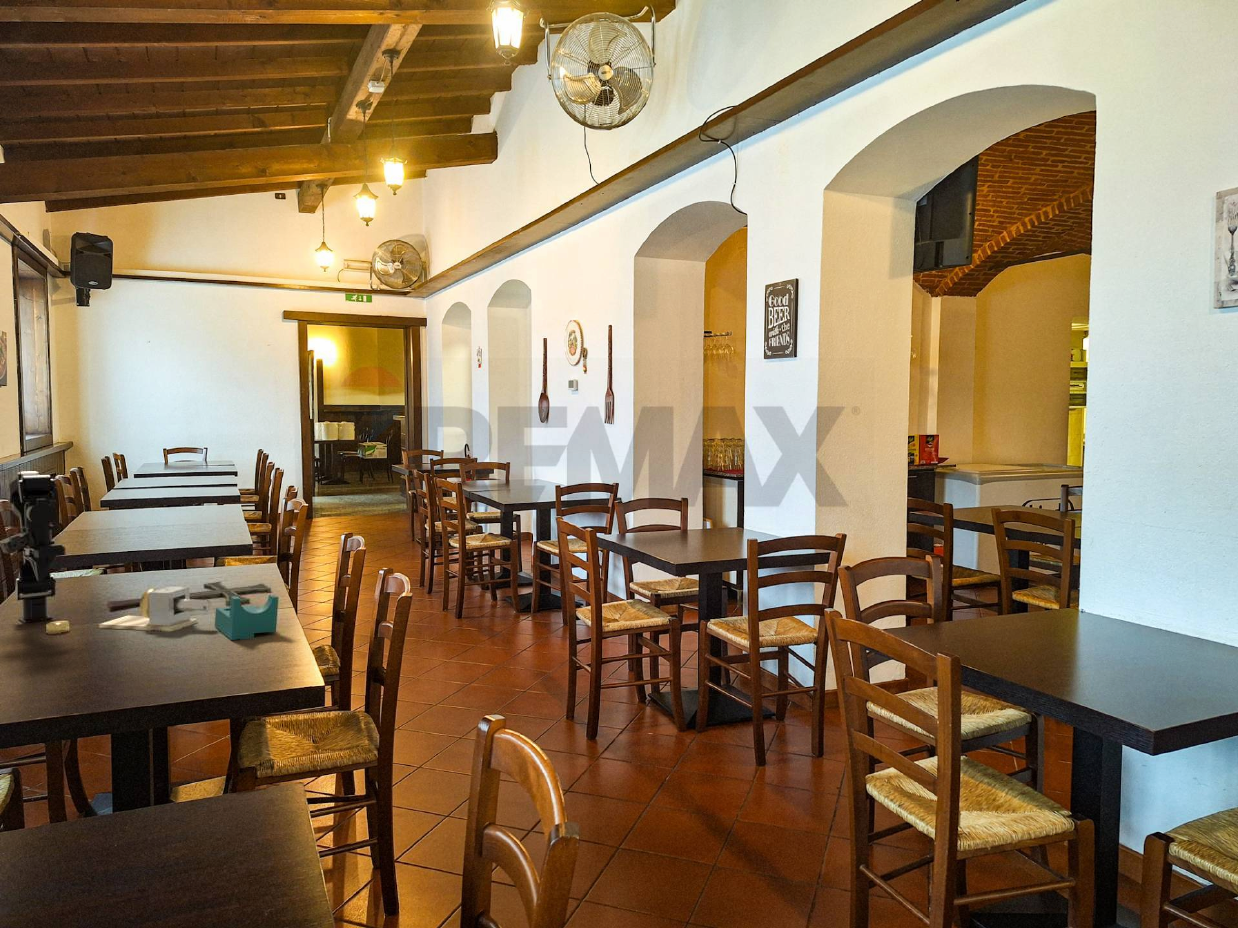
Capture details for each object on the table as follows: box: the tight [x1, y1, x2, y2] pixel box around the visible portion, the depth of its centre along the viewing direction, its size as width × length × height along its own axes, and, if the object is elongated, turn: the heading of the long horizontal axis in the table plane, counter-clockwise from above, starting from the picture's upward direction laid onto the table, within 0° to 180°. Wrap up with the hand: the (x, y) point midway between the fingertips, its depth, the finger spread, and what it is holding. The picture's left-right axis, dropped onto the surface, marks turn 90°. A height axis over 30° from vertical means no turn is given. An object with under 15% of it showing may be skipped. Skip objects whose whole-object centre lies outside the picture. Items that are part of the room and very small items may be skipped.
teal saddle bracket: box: [214, 594, 280, 641], centre depth 223 cm, size 18×11×10 cm, turn 38°
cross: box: [106, 580, 272, 612], centre depth 262 cm, size 35×2×45 cm
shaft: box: [139, 588, 211, 618], centre depth 227 cm, size 17×8×8 cm, turn 80°
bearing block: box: [149, 586, 191, 627], centre depth 227 cm, size 6×8×9 cm
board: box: [98, 615, 198, 632], centre depth 229 cm, size 22×10×1 cm, turn 80°
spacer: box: [45, 620, 70, 635], centre depth 222 cm, size 5×5×2 cm
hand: (40, 580), depth 223 cm, fingers closed
